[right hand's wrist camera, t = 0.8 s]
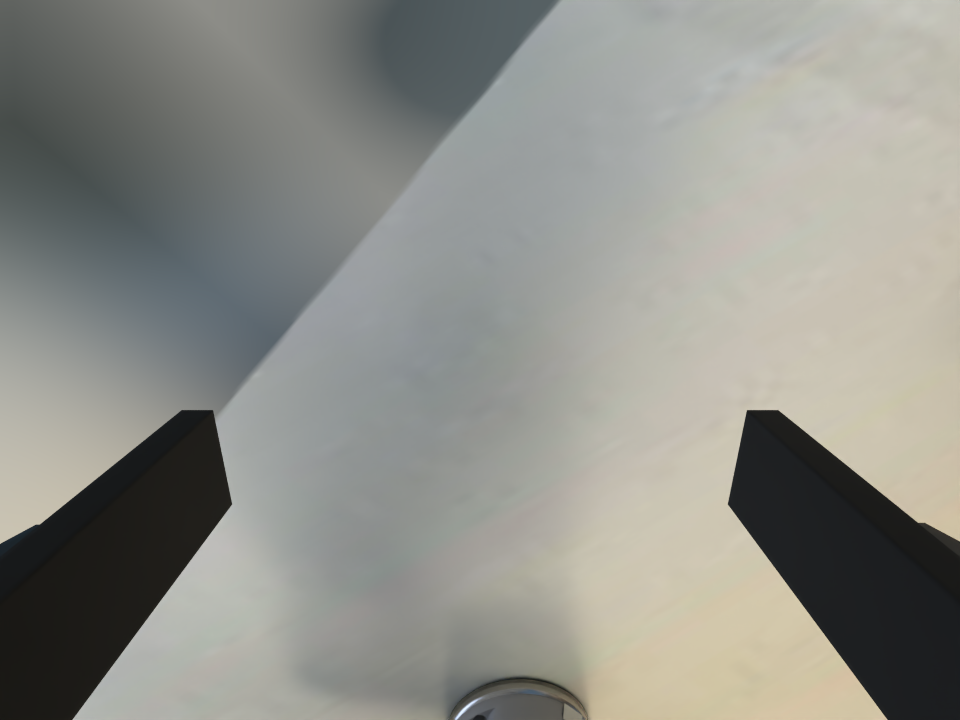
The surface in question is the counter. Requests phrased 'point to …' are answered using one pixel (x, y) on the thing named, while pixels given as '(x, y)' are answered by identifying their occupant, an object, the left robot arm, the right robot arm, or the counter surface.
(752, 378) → the counter surface
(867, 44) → the counter surface
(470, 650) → the counter surface
